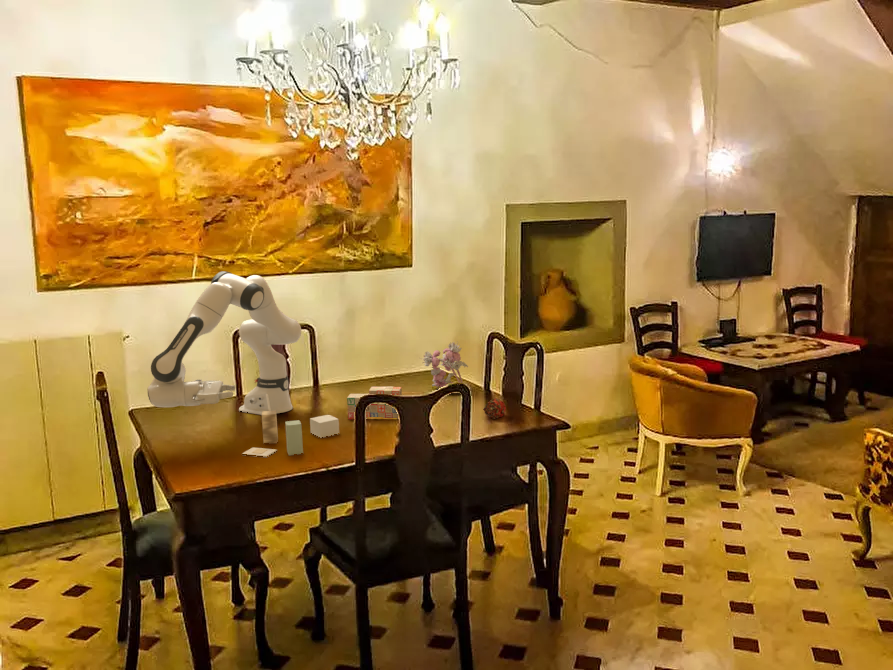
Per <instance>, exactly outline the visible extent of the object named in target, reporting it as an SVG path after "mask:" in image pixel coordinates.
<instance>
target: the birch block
mask: <svg viewBox="0 0 893 670" xmlns="http://www.w3.org/2000/svg"><path fill="white" fill-rule="evenodd" d="M277 417H278V416H277V413H276V411H262V415H261V423H262V427H261V428H262V438H263V439H262V440H263V441H262V442H263V444H264V443H269V444H277V442H279V441H278V440H279V436H278V435H279V433H278V421H277V420H278V419H277Z"/></svg>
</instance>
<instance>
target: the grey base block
mask: <svg viewBox="0 0 893 670" xmlns="http://www.w3.org/2000/svg"><path fill="white" fill-rule="evenodd" d="M339 420H340V419H339V418H337V417H335V416H333V415H331V414H324V415H319V416H314V417H310V418H309V425H310V426H309V428H310V429H309V430H310V434H311V433H312V434H311V435H313V434H314V436H315V435H316V436H315V437H317V436H318V437H317V438H319V437H320V439H322V437H323V438H327V437H326V436H328V437H331V435H332V436H335V435H334V434H337V435H339V434H340V422H339ZM338 433H339V434H338Z"/></svg>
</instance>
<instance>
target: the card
mask: <svg viewBox="0 0 893 670" xmlns="http://www.w3.org/2000/svg"><path fill="white" fill-rule="evenodd" d="M276 451H277V452H278V449H274V448H273V449H272V448H264V447H263V448H262V447H253V446H252V447H251V448H250V449H247V450H245V451H243V452H242V453H241V455H242V454H247V455H256V456H255V457H257V456H263V457H262V458H268V457H270V456H272V455H273V454H275V453H277V452H276ZM274 452H275V453H274ZM271 454H272V455H271ZM269 455H270V456H269ZM267 456H268V457H267Z"/></svg>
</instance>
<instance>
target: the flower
mask: <svg viewBox="0 0 893 670" xmlns="http://www.w3.org/2000/svg"><path fill="white" fill-rule="evenodd" d="M458 344H459V341H457V342H456V343H455V341H453V342H450V343H449V344H448V345H447V348H444V349H443V350H442V353H443V354H442V355H441V352H440V350H438V349H437V350H434V351H433V353H431V352H430V351H425V352H424V354H423V358H421V357H419V359H420V360H422V364H424V365H423V366H425V367H429V366H430V365H431V366H432V367H431V368H432V369H431V370H430V374H431V375H432V376H433V377H432V378H433V379H432V380H431V381H432V382H433V383H432V384H431V386H432V387H436V388H437V387H438V388H437V389H439V387H443V386H447V385H448V384H452V383H454V382H453V381H452V379H451V378H452V377H454V376H455V378H456V380H457V382H458V384H459V383H463V379H462V375H461V373H460V371H459V369H460V368H461V367H462V366H463V368H466V367H467V368H468V367H469V365H468V364H466V363H465V362H464V361H462V360H461V359H462V357H461V354H460V353H459V352H461V350H462V349H463V348H462V347H460V346H461V345H460V344H459V345H458ZM440 355H441V356H442V357H440V358H438V357H439V356H440ZM423 361H424V362H423ZM440 363H441V364H440ZM439 365H440V366H442V367H444V368H445V370H444V369H441V368H440V366H439ZM446 371H447V372H450V371H452V372H450V373H449V374H448V375H447V372H446ZM446 375H447V376H446Z"/></svg>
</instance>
